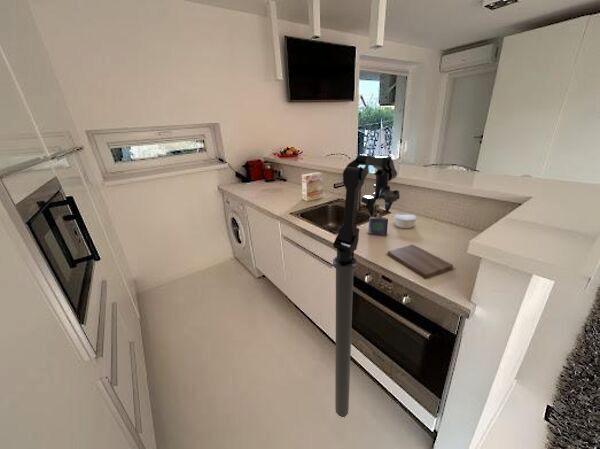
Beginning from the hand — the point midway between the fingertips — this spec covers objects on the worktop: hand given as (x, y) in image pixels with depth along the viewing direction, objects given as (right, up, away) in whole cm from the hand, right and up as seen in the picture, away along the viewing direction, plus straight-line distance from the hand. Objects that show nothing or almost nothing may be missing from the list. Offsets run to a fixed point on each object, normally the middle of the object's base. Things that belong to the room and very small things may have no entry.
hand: (379, 214), depth 122 cm
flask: (0, -10, +5) cm, 11 cm away
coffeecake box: (-30, +15, +71) cm, 78 cm away
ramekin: (+18, -6, +13) cm, 23 cm away
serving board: (+9, -20, -21) cm, 31 cm away
